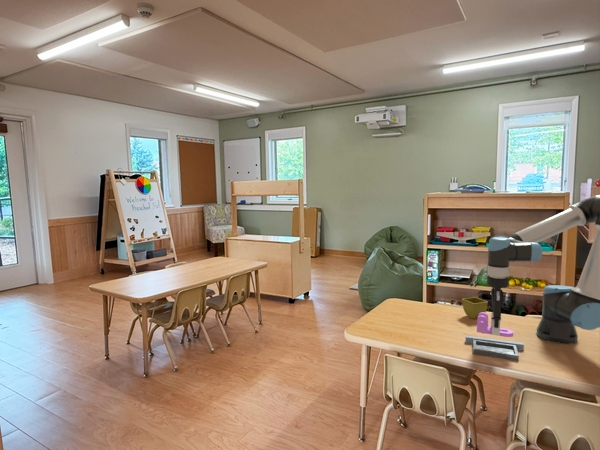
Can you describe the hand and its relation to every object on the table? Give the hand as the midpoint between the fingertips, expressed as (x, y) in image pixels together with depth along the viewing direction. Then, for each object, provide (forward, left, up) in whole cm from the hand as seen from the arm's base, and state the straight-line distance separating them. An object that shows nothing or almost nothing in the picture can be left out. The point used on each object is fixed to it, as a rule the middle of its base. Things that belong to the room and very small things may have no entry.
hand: (495, 331), depth 155 cm
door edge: (0, -7, -9) cm, 11 cm away
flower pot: (+7, -40, -9) cm, 41 cm away
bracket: (0, 0, -1) cm, 1 cm away
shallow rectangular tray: (0, 0, -9) cm, 9 cm away
